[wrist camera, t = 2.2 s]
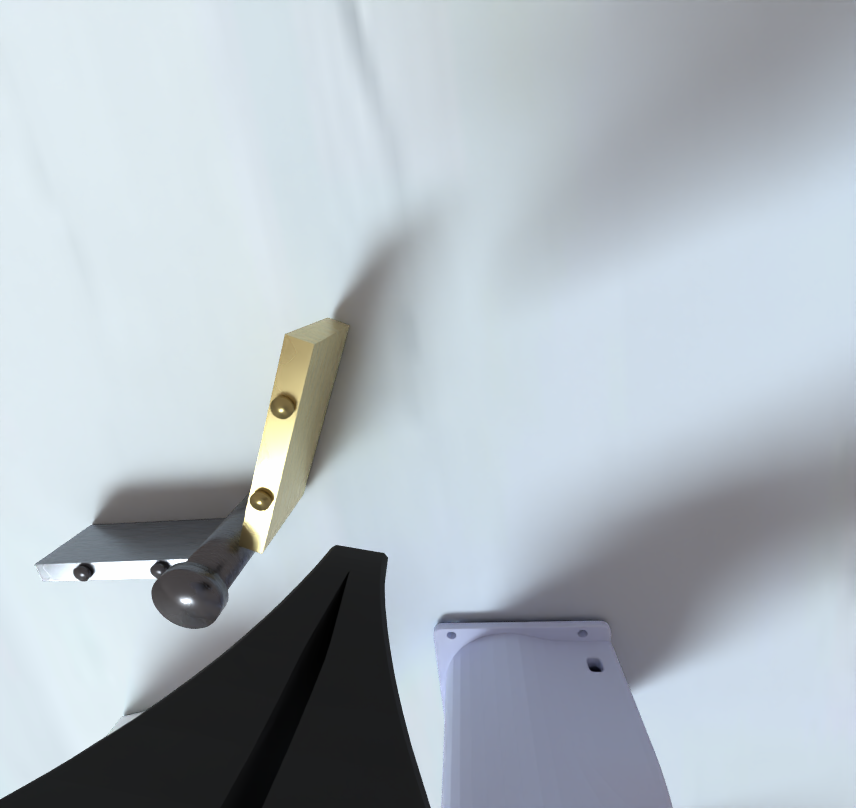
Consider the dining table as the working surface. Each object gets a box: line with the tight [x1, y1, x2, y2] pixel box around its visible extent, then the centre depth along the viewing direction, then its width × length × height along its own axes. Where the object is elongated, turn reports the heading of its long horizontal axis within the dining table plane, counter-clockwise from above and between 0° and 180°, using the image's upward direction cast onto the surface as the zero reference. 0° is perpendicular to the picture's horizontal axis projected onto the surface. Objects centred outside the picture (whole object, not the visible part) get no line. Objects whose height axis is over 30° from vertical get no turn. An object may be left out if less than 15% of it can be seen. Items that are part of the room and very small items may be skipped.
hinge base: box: [35, 493, 255, 629], centre depth 19 cm, size 12×3×7 cm, turn 96°
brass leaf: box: [238, 318, 350, 554], centre depth 17 cm, size 9×1×5 cm, turn 161°
